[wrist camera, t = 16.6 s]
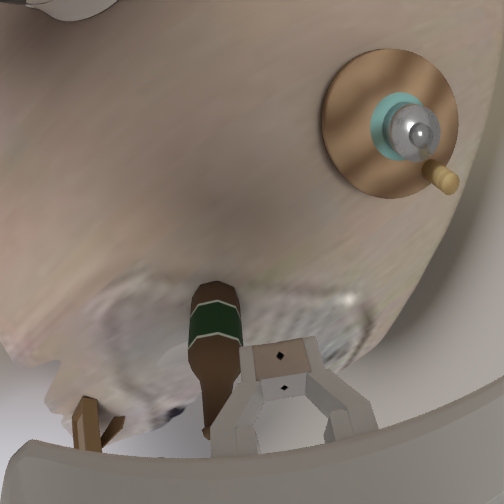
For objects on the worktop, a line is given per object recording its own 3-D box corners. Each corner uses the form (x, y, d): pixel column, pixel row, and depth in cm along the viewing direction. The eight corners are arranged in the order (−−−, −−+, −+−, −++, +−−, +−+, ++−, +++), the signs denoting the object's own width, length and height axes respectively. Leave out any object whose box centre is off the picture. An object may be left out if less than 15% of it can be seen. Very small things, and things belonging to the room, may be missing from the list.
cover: (372, 120, 31) (388, 128, 28) (413, 91, 29) (431, 97, 25) (397, 164, 34) (413, 175, 31) (434, 136, 32) (452, 145, 29)
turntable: (287, 121, 33) (301, 135, 27) (394, 20, 25) (427, 17, 19) (382, 218, 41) (404, 244, 36) (467, 131, 34) (498, 147, 28)
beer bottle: (248, 299, 50) (265, 437, 31) (213, 320, 52) (215, 450, 33) (218, 271, 46) (222, 421, 27) (182, 295, 48) (170, 435, 29)
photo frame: (72, 414, 76) (62, 479, 56) (83, 394, 67) (70, 473, 47) (111, 428, 83) (106, 492, 62) (130, 411, 74) (124, 489, 53)
